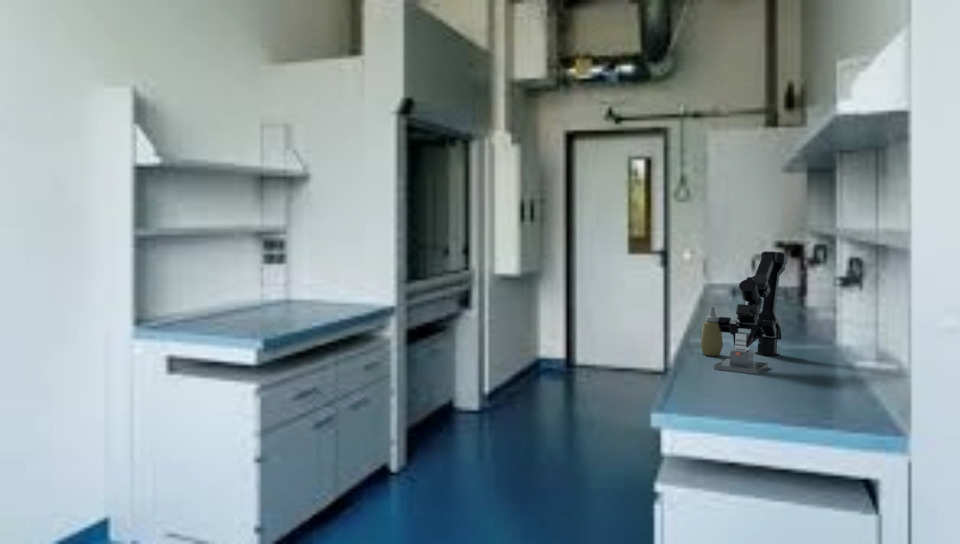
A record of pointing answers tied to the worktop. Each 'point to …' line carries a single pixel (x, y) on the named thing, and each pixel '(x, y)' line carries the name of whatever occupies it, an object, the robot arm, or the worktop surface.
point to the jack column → (741, 342)
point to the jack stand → (741, 363)
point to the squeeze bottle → (711, 335)
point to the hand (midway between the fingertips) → (740, 346)
